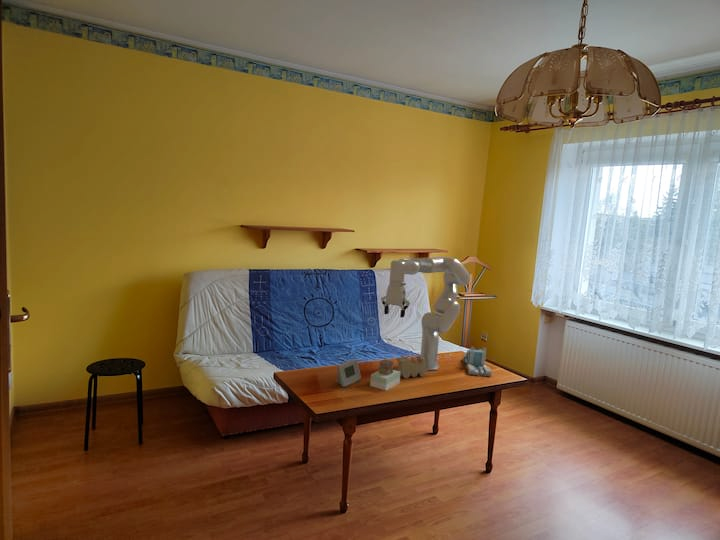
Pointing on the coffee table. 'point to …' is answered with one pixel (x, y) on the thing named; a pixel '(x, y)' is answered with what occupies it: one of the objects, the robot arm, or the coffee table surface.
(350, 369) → the digital clock
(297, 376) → the coffee table surface
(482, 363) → the truck
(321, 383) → the coffee table surface
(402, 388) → the coffee table surface
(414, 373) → the toy train
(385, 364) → the walnut brick
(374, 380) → the base brick
